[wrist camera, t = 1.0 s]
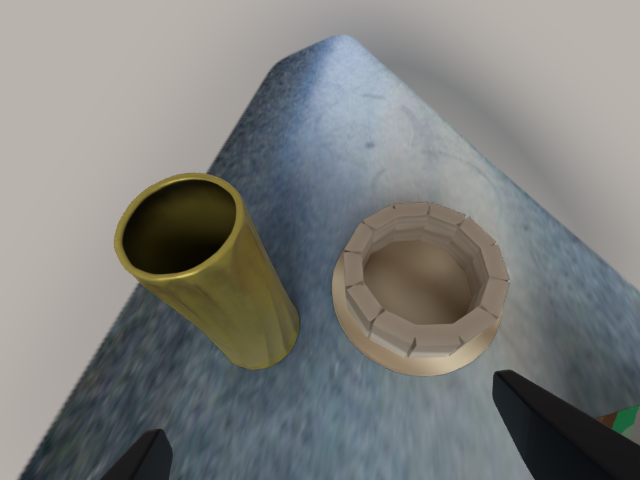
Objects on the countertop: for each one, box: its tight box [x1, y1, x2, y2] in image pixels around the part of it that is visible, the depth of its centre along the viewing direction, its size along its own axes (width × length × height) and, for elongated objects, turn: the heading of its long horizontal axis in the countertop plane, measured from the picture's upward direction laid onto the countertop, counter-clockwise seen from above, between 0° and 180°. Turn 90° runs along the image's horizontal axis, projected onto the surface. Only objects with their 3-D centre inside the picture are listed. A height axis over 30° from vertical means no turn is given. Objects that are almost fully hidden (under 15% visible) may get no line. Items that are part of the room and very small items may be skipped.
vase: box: [114, 173, 299, 370], centre depth 19 cm, size 6×6×14 cm
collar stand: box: [332, 202, 510, 377], centre depth 24 cm, size 12×12×4 cm
